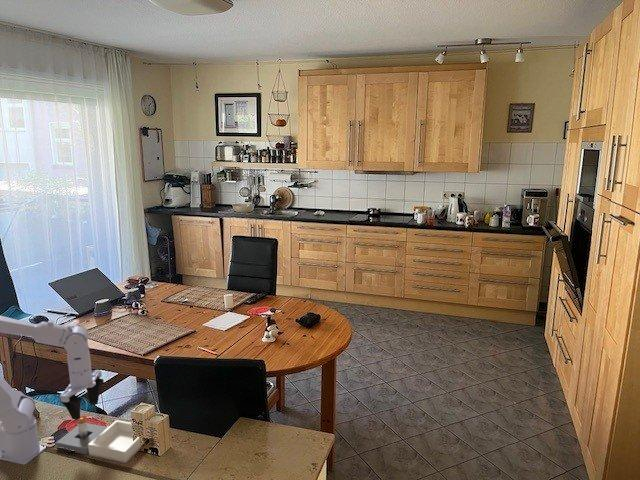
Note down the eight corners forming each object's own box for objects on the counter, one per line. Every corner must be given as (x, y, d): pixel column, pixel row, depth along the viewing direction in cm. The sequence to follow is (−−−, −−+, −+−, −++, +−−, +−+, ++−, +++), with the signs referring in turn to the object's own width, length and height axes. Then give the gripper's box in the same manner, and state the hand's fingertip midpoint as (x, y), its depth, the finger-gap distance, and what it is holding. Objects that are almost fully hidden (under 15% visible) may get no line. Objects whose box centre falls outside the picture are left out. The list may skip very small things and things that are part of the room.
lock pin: (77, 442, 137) (75, 419, 135) (83, 437, 139) (81, 415, 137) (84, 444, 136) (82, 421, 134) (90, 439, 138) (88, 416, 137)
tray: (89, 455, 131) (87, 444, 130) (117, 429, 143) (116, 419, 142) (125, 463, 128) (124, 452, 128) (151, 436, 140) (151, 426, 139)
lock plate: (56, 448, 134) (56, 442, 134) (82, 427, 143) (81, 422, 143) (86, 454, 132) (85, 448, 131) (110, 433, 141) (109, 427, 140)
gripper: (74, 382, 125) (79, 427, 128) (108, 358, 139) (113, 399, 142) (51, 379, 126) (57, 424, 130) (88, 355, 140) (92, 396, 143)
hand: (85, 410), depth 136 cm, fingers open, 7 cm apart
